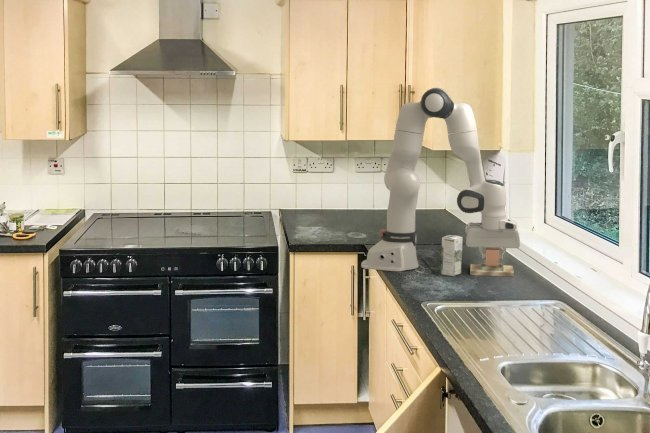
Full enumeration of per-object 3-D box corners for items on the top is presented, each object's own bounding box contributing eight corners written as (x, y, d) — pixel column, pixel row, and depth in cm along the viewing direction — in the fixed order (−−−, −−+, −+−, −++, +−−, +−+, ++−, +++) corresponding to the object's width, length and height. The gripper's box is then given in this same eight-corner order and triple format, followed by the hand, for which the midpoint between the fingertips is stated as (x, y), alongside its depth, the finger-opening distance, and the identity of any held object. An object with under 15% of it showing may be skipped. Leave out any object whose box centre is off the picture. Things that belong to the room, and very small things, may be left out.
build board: (470, 274, 330) (470, 268, 329) (470, 267, 342) (470, 261, 341) (513, 276, 327) (513, 270, 327) (512, 269, 339) (512, 263, 338)
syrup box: (448, 271, 335) (449, 234, 333) (461, 274, 331) (462, 236, 329) (440, 274, 331) (441, 236, 328) (454, 276, 327) (454, 238, 325)
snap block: (485, 265, 332) (485, 250, 331) (485, 262, 337) (485, 247, 336) (499, 266, 331) (499, 250, 330) (498, 263, 336) (499, 247, 335)
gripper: (465, 223, 330) (464, 259, 332) (520, 225, 327) (519, 261, 329) (465, 221, 336) (464, 256, 338) (520, 222, 333) (519, 257, 335)
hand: (492, 258), depth 334 cm, fingers closed on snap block, 5 cm apart
